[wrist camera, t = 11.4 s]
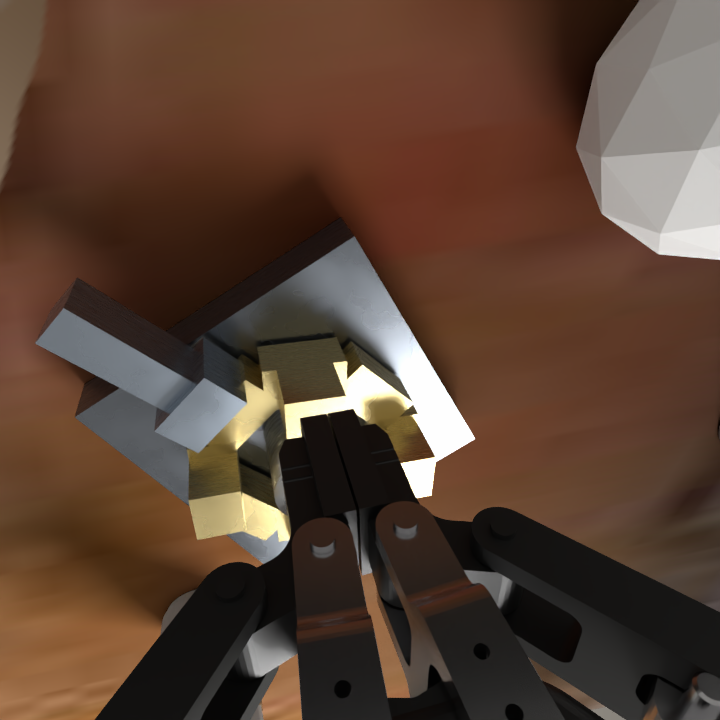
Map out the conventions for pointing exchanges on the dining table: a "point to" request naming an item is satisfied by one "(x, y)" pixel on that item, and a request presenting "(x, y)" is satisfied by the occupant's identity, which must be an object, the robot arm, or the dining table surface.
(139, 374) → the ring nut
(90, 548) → the dining table surface
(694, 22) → the geodesic sphere
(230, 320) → the housing
